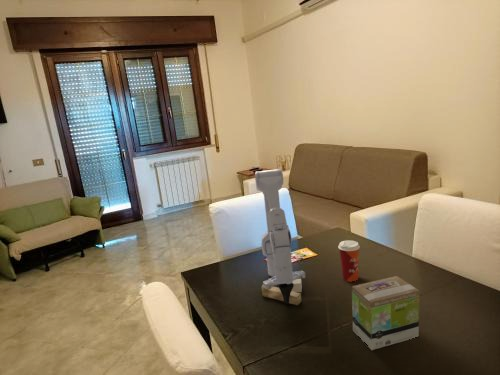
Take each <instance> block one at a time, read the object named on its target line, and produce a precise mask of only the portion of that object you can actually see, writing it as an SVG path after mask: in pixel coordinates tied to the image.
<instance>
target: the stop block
mask: <svg viewBox="0 0 500 375" xmlns="http://www.w3.org/2000/svg"><path fill="white" fill-rule="evenodd" d="M292 283H293V284H294V287H293V289H292V291H293V292H297V293H302V289H303V287H302V285H303V284H302V278H299V279H296V280H293V281H292Z"/></svg>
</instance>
